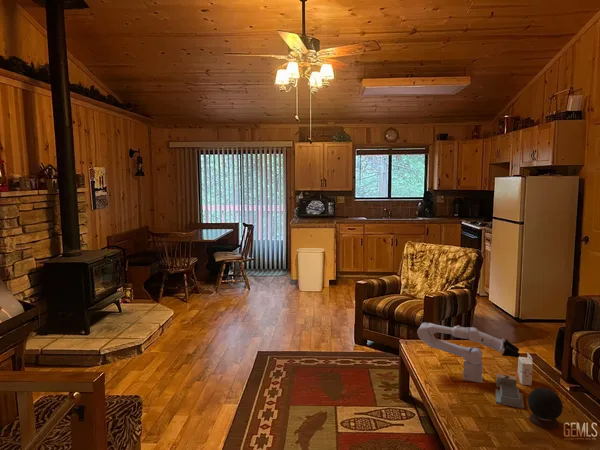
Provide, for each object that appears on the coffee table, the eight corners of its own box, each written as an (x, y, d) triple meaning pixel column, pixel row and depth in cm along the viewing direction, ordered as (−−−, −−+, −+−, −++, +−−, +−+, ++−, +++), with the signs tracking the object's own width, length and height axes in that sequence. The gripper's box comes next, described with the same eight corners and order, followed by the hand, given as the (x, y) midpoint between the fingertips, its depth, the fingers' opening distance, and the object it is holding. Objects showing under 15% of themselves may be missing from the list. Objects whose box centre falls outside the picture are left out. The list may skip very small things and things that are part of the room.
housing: (496, 387, 218) (496, 376, 217) (496, 383, 221) (496, 373, 221) (515, 390, 214) (516, 379, 213) (515, 386, 218) (516, 376, 217)
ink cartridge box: (516, 377, 228) (518, 351, 226) (526, 378, 227) (528, 351, 225) (521, 384, 219) (523, 357, 218) (531, 385, 219) (533, 358, 217)
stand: (495, 403, 202) (496, 394, 201) (495, 390, 214) (495, 382, 213) (524, 408, 197) (524, 400, 197) (522, 395, 209) (522, 387, 208)
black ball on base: (547, 433, 178) (549, 400, 176) (520, 417, 190) (522, 385, 188) (568, 426, 183) (570, 393, 181) (540, 411, 195) (542, 380, 193)
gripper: (493, 339, 213) (522, 351, 208) (494, 330, 226) (521, 341, 221) (488, 351, 215) (517, 363, 210) (489, 342, 228) (516, 353, 223)
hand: (518, 353), depth 215 cm, fingers open, 7 cm apart
